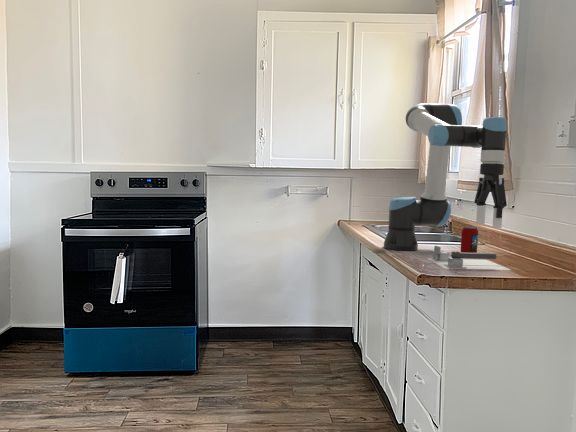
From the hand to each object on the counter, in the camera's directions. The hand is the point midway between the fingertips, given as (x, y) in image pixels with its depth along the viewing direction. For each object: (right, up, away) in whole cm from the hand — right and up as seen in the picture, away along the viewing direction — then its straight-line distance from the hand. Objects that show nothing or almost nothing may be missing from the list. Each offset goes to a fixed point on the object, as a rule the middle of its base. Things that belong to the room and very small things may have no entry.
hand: (488, 225), depth 174 cm
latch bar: (-2, -12, +8) cm, 15 cm away
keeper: (-10, -14, +22) cm, 28 cm away
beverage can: (+9, -13, +43) cm, 46 cm away
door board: (-2, -16, +15) cm, 22 cm away
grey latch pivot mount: (-9, -15, +8) cm, 19 cm away
